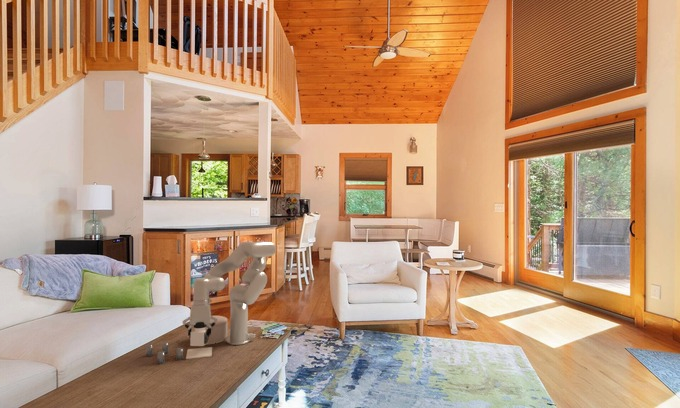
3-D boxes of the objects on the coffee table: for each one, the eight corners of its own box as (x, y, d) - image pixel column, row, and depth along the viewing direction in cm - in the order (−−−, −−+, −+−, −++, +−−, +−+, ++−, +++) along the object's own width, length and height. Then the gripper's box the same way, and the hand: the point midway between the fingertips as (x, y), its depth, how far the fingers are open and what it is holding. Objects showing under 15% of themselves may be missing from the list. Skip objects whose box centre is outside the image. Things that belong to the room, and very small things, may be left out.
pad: (212, 348, 195) (212, 347, 195) (211, 356, 183) (211, 355, 183) (187, 350, 191) (188, 349, 191) (185, 359, 179) (185, 357, 179)
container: (199, 347, 195) (199, 325, 195) (190, 338, 209) (190, 318, 210) (231, 341, 206) (232, 320, 206) (221, 332, 220) (221, 313, 221)
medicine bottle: (204, 346, 184) (204, 322, 184) (189, 346, 183) (190, 322, 184) (208, 341, 191) (209, 318, 191) (195, 341, 191) (195, 318, 191)
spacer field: (185, 350, 191) (185, 340, 191) (182, 361, 176) (182, 351, 176) (147, 353, 186) (147, 343, 186) (140, 366, 170) (140, 355, 171)
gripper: (218, 299, 194) (217, 332, 193) (183, 301, 189) (182, 335, 188) (218, 303, 187) (217, 337, 186) (182, 304, 182) (180, 340, 181)
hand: (199, 336), depth 187 cm, fingers closed on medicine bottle, 8 cm apart
